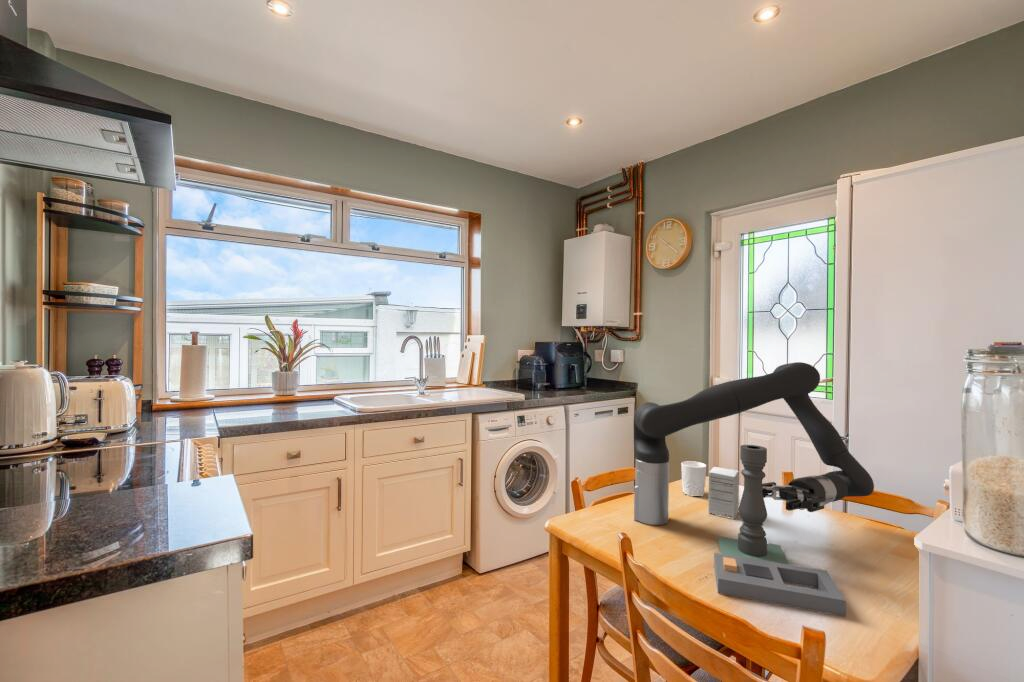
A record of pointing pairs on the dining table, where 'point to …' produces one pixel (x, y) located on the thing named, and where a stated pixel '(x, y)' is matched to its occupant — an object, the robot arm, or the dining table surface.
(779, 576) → the grey compartment tray
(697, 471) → the white cup
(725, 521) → the dining table surface
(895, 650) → the dining table surface
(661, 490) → the robot arm
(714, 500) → the supplement box
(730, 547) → the mat
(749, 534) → the candle holder
